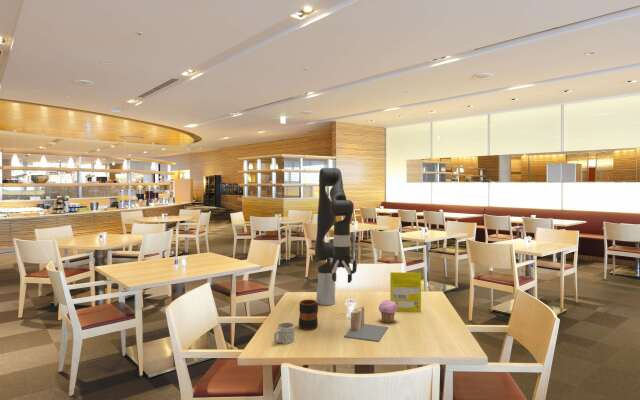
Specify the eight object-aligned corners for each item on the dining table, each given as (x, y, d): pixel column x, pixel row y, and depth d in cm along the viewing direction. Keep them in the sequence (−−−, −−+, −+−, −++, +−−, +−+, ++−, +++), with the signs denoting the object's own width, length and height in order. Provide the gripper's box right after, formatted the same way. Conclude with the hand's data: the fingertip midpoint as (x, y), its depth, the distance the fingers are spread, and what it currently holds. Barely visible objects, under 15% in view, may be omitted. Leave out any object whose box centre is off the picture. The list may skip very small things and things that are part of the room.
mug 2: (325, 324, 201) (325, 299, 201) (310, 331, 191) (310, 305, 190) (309, 320, 206) (309, 296, 205) (295, 328, 196) (294, 302, 195)
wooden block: (350, 312, 191) (357, 305, 200) (350, 329, 191) (357, 322, 201) (357, 312, 190) (364, 306, 199) (357, 330, 190) (364, 323, 199)
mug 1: (285, 336, 185) (285, 321, 185) (297, 340, 181) (297, 324, 180) (268, 343, 177) (268, 327, 177) (280, 347, 173) (280, 331, 173)
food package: (420, 311, 219) (420, 272, 218) (421, 312, 218) (421, 273, 217) (390, 310, 220) (390, 272, 220) (390, 311, 219) (390, 272, 218)
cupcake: (380, 317, 210) (380, 297, 209) (398, 319, 207) (398, 298, 207) (377, 323, 202) (377, 302, 201) (395, 325, 199) (395, 303, 198)
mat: (344, 337, 184) (344, 336, 184) (356, 324, 201) (356, 322, 201) (378, 341, 178) (378, 340, 178) (388, 327, 195) (388, 326, 195)
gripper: (323, 245, 191) (324, 282, 192) (355, 246, 186) (355, 285, 187) (329, 242, 198) (329, 278, 199) (359, 244, 193) (359, 281, 194)
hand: (342, 281), depth 193 cm, fingers open, 6 cm apart
